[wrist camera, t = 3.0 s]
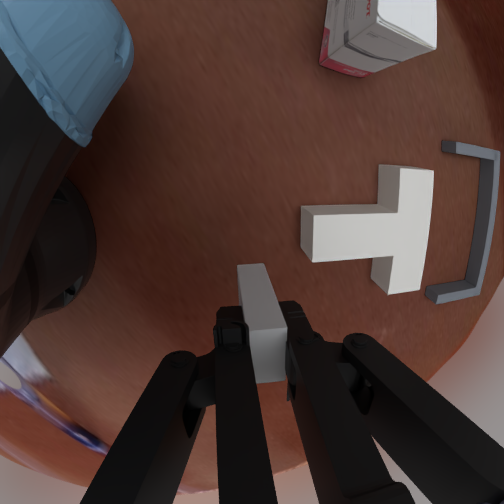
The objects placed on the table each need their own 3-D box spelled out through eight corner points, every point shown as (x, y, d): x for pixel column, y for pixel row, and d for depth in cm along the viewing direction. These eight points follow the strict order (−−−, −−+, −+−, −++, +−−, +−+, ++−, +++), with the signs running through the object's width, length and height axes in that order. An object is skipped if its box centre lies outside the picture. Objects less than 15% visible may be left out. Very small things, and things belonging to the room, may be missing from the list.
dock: (424, 295, 33) (435, 304, 31) (441, 140, 27) (456, 141, 24) (468, 286, 34) (479, 294, 31) (486, 149, 27) (500, 151, 25)
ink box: (363, 80, 24) (440, 55, 13) (315, 65, 23) (375, 22, 12) (371, 11, 22) (438, -33, 10) (326, -6, 21) (379, -64, 10)
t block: (299, 285, 30) (310, 304, 27) (300, 162, 26) (313, 165, 23) (400, 274, 31) (419, 289, 28) (410, 166, 27) (433, 170, 24)
